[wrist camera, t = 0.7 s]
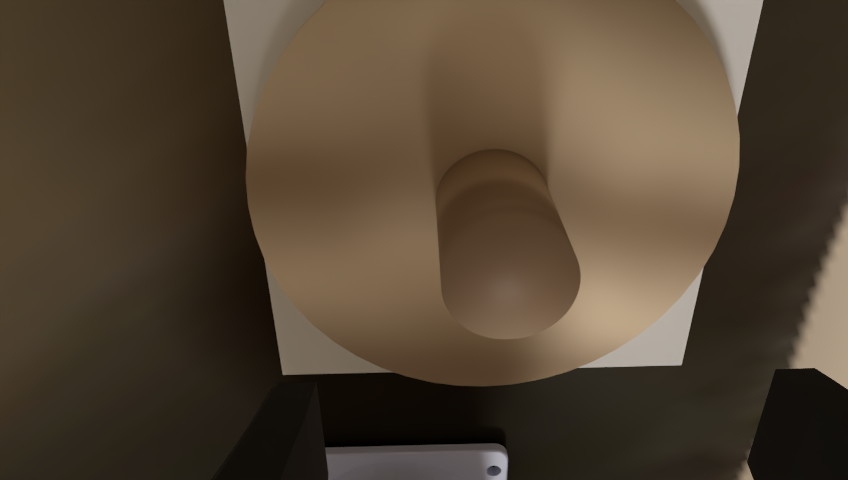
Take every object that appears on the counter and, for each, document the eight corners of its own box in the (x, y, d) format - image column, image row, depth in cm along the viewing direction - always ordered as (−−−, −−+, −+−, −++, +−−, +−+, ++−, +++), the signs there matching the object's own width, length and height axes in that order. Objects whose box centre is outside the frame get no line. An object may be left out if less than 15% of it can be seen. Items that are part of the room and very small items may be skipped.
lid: (681, 364, 22) (745, 484, 18) (283, 374, 22) (252, 496, 18) (779, -75, 15) (917, -50, 11) (213, -63, 15) (138, -35, 11)
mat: (677, 357, 22) (681, 365, 22) (284, 366, 22) (282, 375, 22) (771, -76, 16) (780, -74, 15) (217, -65, 16) (213, -63, 15)
